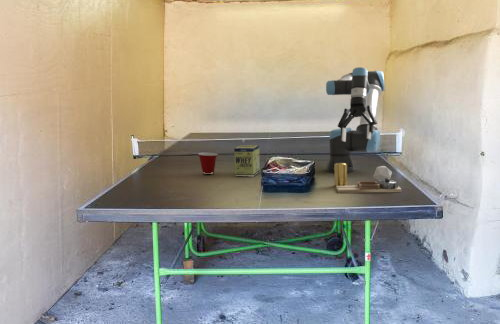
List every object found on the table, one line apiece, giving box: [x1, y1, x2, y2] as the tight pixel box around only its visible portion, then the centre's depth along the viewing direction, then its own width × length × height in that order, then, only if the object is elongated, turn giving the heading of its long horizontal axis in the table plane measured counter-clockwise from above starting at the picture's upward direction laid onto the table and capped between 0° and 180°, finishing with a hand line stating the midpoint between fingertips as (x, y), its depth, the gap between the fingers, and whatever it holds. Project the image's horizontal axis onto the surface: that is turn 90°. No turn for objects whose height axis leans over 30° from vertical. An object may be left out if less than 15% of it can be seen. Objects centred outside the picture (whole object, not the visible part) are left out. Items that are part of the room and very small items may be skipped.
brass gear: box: [334, 163, 348, 187], centre depth 255 cm, size 6×6×11 cm
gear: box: [377, 177, 399, 189], centre depth 245 cm, size 9×9×4 cm
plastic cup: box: [197, 152, 219, 173], centre depth 299 cm, size 11×11×12 cm
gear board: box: [335, 180, 403, 194], centre depth 246 cm, size 10×28×3 cm, turn 86°
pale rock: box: [372, 165, 393, 182], centre depth 262 cm, size 8×9×10 cm
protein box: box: [233, 144, 261, 176], centre depth 294 cm, size 10×16×16 cm
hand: (356, 140), depth 261 cm, fingers open, 13 cm apart
